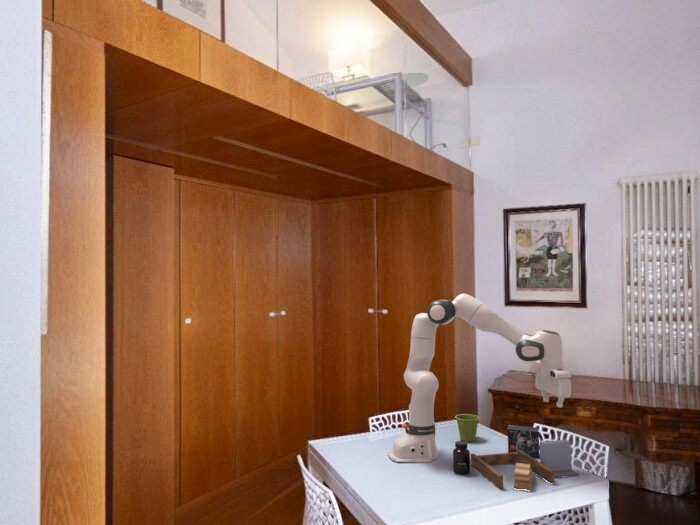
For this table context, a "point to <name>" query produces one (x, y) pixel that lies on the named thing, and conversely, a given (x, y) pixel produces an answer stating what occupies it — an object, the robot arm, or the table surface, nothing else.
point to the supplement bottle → (461, 458)
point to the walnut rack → (495, 477)
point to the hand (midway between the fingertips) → (552, 404)
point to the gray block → (556, 454)
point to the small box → (523, 440)
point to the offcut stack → (523, 476)
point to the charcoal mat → (565, 473)
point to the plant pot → (467, 426)
